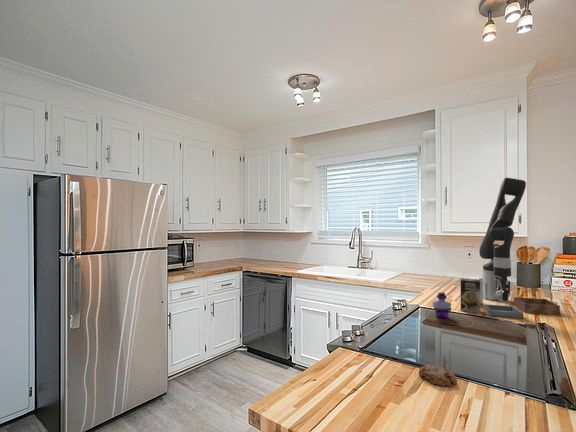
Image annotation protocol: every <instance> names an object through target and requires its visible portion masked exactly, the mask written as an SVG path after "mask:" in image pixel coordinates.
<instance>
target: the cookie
mask: <svg viewBox="0 0 576 432" xmlns="http://www.w3.org/2000/svg"><path fill="white" fill-rule="evenodd" d="M418 374H419V376H420V377H421V378H423V379H424V380H427V381H429V383H430V384H433V385H439V386H442V387H450V388H451V386H456V385H457V383H458V380H457V377H456V375H455V373H454V372H453V371H450V370H448V369H447V370H446V369H445V368H444V367H442V366H441V365H440V366H439V365H434V364H425V365H423V366H421V367H420V368H419V371H418Z"/></svg>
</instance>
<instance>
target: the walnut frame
mask: <svg viewBox="0 0 576 432" xmlns="http://www.w3.org/2000/svg"><path fill="white" fill-rule="evenodd" d="M513 307H515V308H516V309H518V310H519V311H521V312H522V313H526V314H537V315H539V314H540V315H541V314H542V315H552V316H553V315H554V316H561V306H560V305H558V304H557V303H555V302H553V301H551V300H549V299H547V298H535V297H533V298H532V297H517V296H516V297H515V296H514V297H513Z"/></svg>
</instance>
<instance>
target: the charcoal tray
mask: <svg viewBox="0 0 576 432" xmlns="http://www.w3.org/2000/svg"><path fill="white" fill-rule="evenodd" d="M482 304H483V303H482ZM482 308H483V311H485V312H486V313H487V314H488V315H489V316H490V317H495V318H506V319H507V318H510V319H524V312H523V311H522V310H520V309H519V308H517V307H516V306H514V305H512V306H511V305H499V304H485V303H484V304H483V307H482Z"/></svg>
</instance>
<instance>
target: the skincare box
mask: <svg viewBox="0 0 576 432" xmlns="http://www.w3.org/2000/svg"><path fill="white" fill-rule="evenodd" d="M466 279H471V280H480V305H482V304H483V303H484V298H483V277H480V276H473V275H472V276H470V277H466Z"/></svg>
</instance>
